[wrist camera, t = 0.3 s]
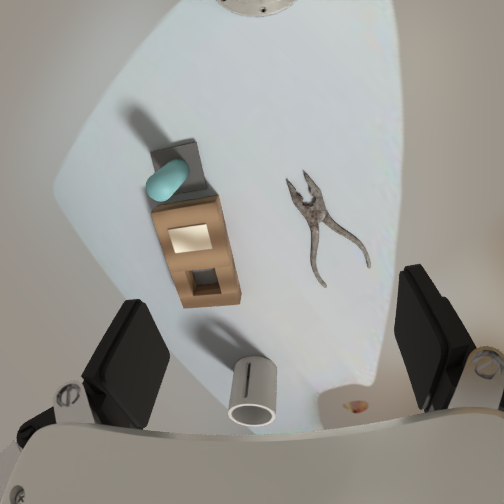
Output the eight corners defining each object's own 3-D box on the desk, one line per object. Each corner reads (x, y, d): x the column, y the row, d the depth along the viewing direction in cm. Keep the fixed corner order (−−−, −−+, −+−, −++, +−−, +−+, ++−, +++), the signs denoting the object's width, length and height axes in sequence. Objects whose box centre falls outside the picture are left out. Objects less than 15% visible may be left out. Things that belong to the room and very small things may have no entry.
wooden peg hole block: (157, 205, 47) (150, 213, 44) (218, 195, 46) (214, 203, 43) (187, 297, 56) (183, 309, 53) (241, 293, 54) (239, 305, 52)
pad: (152, 152, 43) (150, 152, 42) (196, 141, 42) (195, 142, 41) (163, 195, 46) (162, 196, 46) (206, 187, 45) (205, 188, 45)
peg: (163, 161, 43) (142, 177, 36) (186, 156, 42) (168, 171, 36) (169, 184, 45) (150, 203, 38) (192, 179, 44) (176, 198, 37)
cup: (255, 386, 68) (251, 430, 57) (226, 367, 65) (218, 413, 55) (285, 370, 64) (285, 417, 54) (256, 350, 61) (251, 398, 51)
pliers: (330, 295, 53) (252, 211, 46) (329, 292, 53) (253, 209, 47) (376, 264, 49) (304, 170, 42) (375, 261, 50) (304, 169, 43)
